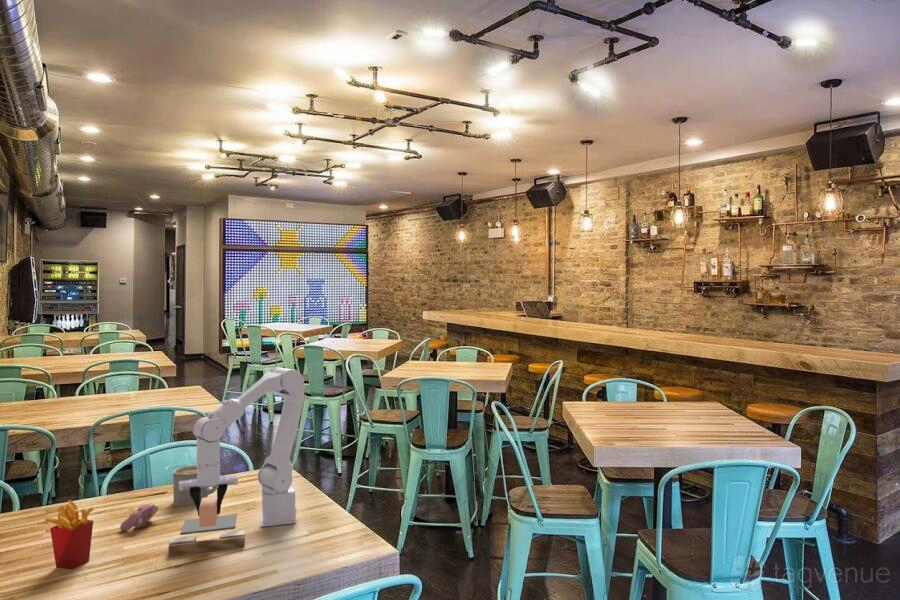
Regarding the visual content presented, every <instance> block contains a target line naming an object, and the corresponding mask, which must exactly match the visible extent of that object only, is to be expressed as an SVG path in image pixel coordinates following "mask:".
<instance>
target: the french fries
mask: <svg viewBox="0 0 900 600" xmlns="http://www.w3.org/2000/svg"><path fill="white" fill-rule="evenodd" d="M94 510H95V507H90V508H89V509H87V510H86V508H81V509H80V512H81V518H80V514H79V509H78V507H77V504H75V503H74V502H73V501H72V500H71V499H70V500H68V502H67V503H66V504H65V505H63V506H62V505H60V506H59V508H57V509H56V511H57V518H53V517H48V516H47V517H46V518H45V521H44V522H47V523H51V524H55V525H54V526H52V527H50V536H51V543H52V546H53V547H52V548H53V555H54V563H55V568H56V569H64V570H72V571H73V570H75V569H77V568H78V567H81V566H83V565H84V564H86V563H88V562H90V557H91V546H92V536H93V528H94V527H93V526H94V520H92V519H91V520H90V519H88V516H89V515H90V513H92V512H93V511H94Z"/></svg>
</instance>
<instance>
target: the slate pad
mask: <svg viewBox="0 0 900 600" xmlns="http://www.w3.org/2000/svg"><path fill="white" fill-rule="evenodd" d="M237 516H238V515H237V513H236V514H234V513H233V514H227V515H226V514H225V515H218V519H217V523H216V526H207V527H199V517H198V518H189V519H184V522H183V525H182V527H181V531H180V535H186V534H197V533H201V532H202V533H205V532H211V531H221V530H231V529H235V528H236V521H237Z"/></svg>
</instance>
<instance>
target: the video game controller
mask: <svg viewBox="0 0 900 600" xmlns="http://www.w3.org/2000/svg"><path fill="white" fill-rule="evenodd" d="M158 510H159V507H158V506H157V505H155V504H153V503H150V502H149V504H144V505H140V507H138V508H137V509H136V510H134V511H133V512H131V514H130V515H129V517H128V518H127V519H125V520H124V521H123V522H122V523H121V524H120V526H119V529H120V531H122V532H126V531H128V530H131V529H132V528H133V527H134V528H135V529H139V528H140V527H141V526H142V525H143V524H144V525H146V524H148V523H149V522H150V520H151V519H152V518H153V517H154V516H155V515H156V513H157V512H158Z"/></svg>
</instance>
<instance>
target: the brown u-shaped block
mask: <svg viewBox="0 0 900 600" xmlns="http://www.w3.org/2000/svg"><path fill="white" fill-rule="evenodd" d="M245 531H246V530H245V529H242V530H233V531H232V530H231V531H224V532H223V531H222V532H220V534H219V535H220V536H219V538H216V539H215V538H214V539H213V538H212V539H206V540H197V536H196V535H188V536H180V537H171V538H170V540H169V542H168V557H172V556H180V555H181V556H182V555H189V554H190V555H191V554H196V553H198V554H199V553H206V552H213V551H222V550H229V549H231V550H232V549H237V548H245V543H246V532H245Z"/></svg>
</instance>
